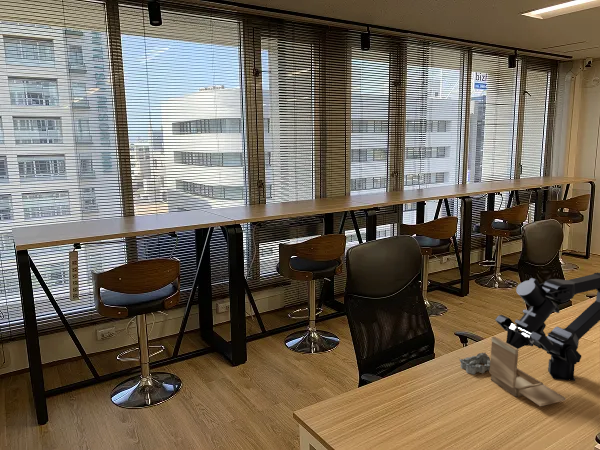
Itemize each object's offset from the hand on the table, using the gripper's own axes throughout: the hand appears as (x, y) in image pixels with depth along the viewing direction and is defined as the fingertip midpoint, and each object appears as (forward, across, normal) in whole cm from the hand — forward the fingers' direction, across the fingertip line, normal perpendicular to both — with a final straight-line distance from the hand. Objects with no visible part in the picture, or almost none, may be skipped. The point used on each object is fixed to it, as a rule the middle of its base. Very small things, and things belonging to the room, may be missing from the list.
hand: (505, 353), depth 146 cm
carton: (+5, -4, -11) cm, 13 cm away
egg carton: (+8, +13, -9) cm, 18 cm away
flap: (+6, 0, -6) cm, 8 cm away
